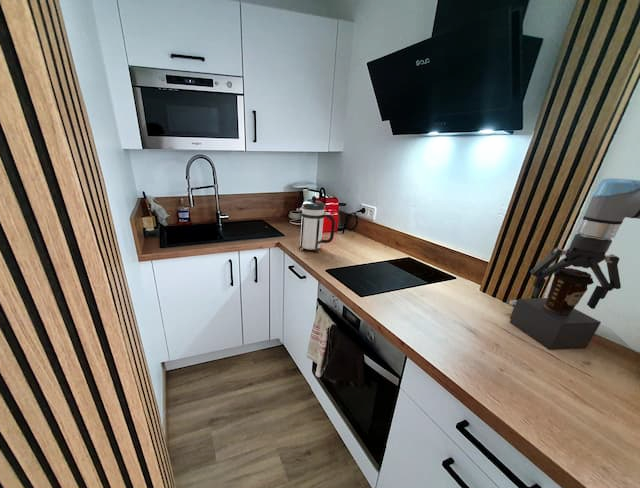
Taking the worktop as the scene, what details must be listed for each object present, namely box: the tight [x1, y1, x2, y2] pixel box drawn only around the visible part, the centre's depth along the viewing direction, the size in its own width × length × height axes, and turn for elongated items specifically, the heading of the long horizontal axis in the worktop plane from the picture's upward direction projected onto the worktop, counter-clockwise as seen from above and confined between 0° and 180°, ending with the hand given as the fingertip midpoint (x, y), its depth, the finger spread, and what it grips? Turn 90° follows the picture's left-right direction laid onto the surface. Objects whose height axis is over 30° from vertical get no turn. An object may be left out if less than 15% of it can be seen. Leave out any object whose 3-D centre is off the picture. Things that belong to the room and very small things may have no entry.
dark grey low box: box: [509, 297, 602, 351], centre depth 92 cm, size 15×13×10 cm
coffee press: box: [298, 196, 336, 254], centre depth 159 cm, size 17×16×30 cm
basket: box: [508, 298, 520, 320], centre depth 95 cm, size 18×11×8 cm, turn 5°
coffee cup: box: [544, 267, 595, 314], centre depth 87 cm, size 9×8×13 cm
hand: (561, 301), depth 89 cm, fingers open, 13 cm apart
